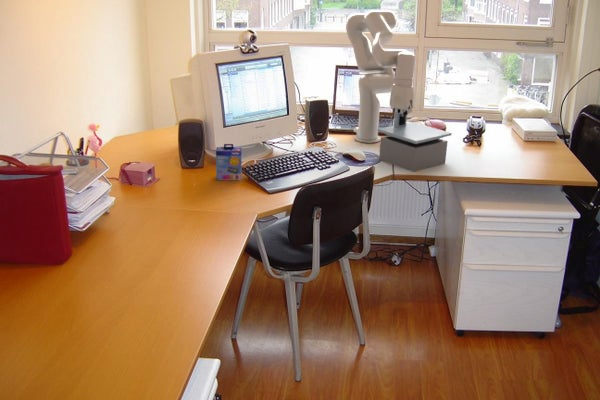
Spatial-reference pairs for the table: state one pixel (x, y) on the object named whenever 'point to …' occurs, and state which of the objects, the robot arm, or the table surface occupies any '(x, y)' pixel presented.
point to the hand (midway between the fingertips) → (400, 124)
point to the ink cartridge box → (228, 163)
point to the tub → (413, 153)
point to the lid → (413, 131)
